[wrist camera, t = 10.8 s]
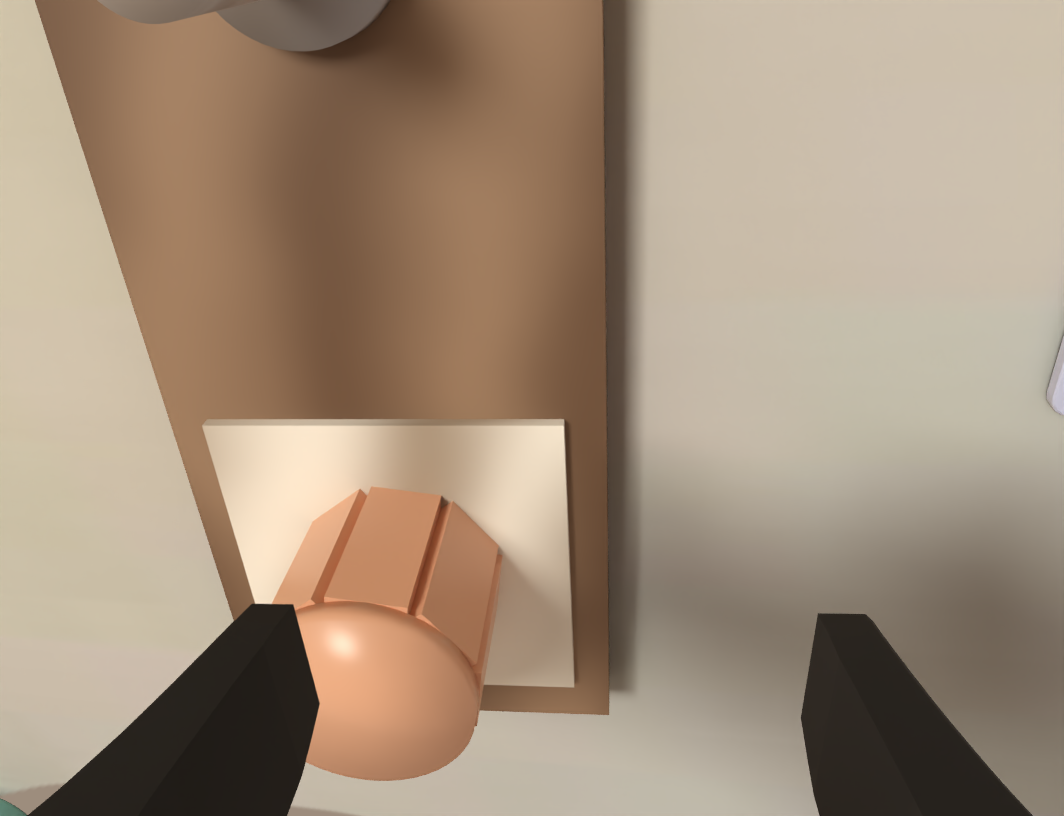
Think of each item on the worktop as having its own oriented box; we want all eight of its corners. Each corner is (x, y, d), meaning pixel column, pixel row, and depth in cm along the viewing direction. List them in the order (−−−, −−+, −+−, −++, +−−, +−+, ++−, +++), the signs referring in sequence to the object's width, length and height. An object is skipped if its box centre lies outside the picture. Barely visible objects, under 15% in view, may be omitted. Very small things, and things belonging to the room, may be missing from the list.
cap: (507, 503, 21) (482, 639, 17) (493, 648, 24) (468, 794, 20) (305, 477, 21) (234, 606, 17) (314, 624, 24) (254, 763, 20)
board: (597, -642, 12) (577, -1247, 6) (609, 675, 26) (607, 919, 20) (-85, -553, 13) (-727, -983, 7) (276, 665, 28) (173, 894, 21)
